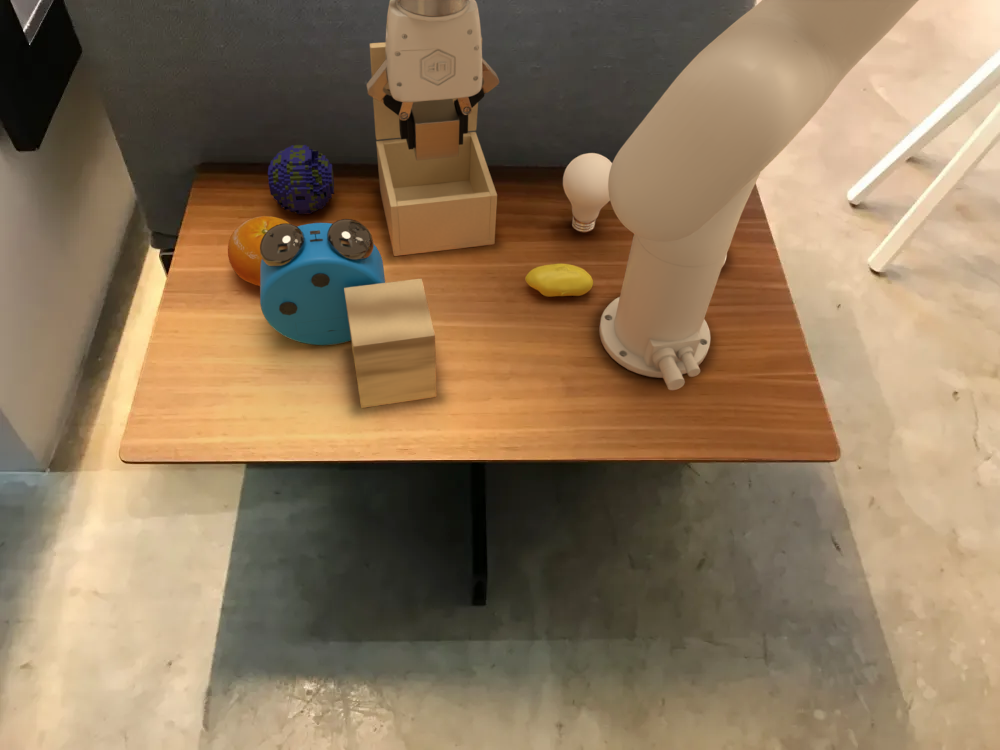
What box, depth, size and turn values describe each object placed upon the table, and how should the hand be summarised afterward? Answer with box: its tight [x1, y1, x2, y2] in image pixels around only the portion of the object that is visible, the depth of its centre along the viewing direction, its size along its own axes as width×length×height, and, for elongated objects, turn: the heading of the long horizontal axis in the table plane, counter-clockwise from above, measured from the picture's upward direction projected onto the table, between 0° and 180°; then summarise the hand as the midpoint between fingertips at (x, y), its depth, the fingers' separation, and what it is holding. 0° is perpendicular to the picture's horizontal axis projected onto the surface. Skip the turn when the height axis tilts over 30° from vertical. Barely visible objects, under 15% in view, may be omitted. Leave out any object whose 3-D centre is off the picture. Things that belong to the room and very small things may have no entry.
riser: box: [344, 277, 437, 409], centre depth 89 cm, size 8×8×10 cm
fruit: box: [227, 215, 290, 287], centre depth 99 cm, size 8×8×8 cm
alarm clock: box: [259, 218, 386, 346], centre depth 91 cm, size 13×6×15 cm, turn 100°
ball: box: [267, 144, 335, 215], centre depth 107 cm, size 8×8×8 cm
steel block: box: [411, 99, 459, 161], centre depth 99 cm, size 5×5×5 cm
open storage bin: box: [375, 131, 498, 257], centre depth 106 cm, size 13×13×8 cm
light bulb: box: [562, 152, 613, 233], centre depth 105 cm, size 7×7×11 cm
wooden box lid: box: [369, 36, 483, 141], centre depth 102 cm, size 13×13×5 cm
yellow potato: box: [524, 262, 594, 298], centre depth 100 cm, size 4×8×4 cm, turn 85°
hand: (433, 138), depth 100 cm, fingers closed on steel block, 5 cm apart
